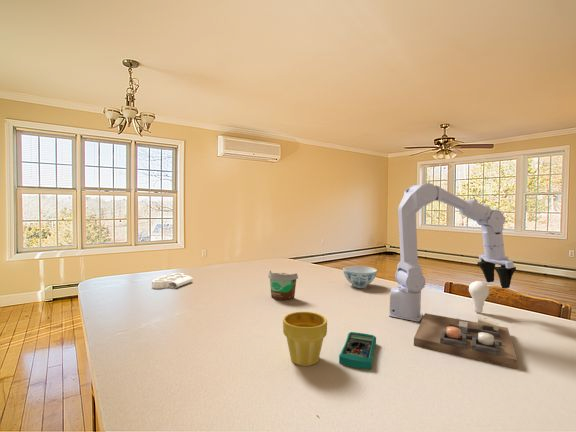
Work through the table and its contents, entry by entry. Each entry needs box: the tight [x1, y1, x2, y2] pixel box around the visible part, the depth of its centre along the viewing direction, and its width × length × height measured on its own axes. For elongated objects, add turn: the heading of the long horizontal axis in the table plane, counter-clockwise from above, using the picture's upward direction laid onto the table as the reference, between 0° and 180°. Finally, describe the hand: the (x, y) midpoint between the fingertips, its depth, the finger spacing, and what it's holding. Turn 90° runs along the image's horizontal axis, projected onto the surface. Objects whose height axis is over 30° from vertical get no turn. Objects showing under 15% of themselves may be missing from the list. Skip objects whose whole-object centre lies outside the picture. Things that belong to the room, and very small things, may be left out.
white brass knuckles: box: [151, 272, 194, 290], centre depth 141 cm, size 3×18×15 cm
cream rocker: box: [476, 315, 500, 331], centre depth 89 cm, size 5×4×1 cm
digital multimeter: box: [338, 331, 377, 370], centre depth 77 cm, size 7×15×3 cm, turn 160°
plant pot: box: [282, 311, 328, 367], centre depth 74 cm, size 10×10×10 cm
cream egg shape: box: [478, 332, 494, 345], centre depth 76 cm, size 3×3×2 cm
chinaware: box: [342, 265, 378, 289], centre depth 142 cm, size 15×15×8 cm
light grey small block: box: [459, 321, 468, 334], centre depth 85 cm, size 2×4×2 cm, turn 149°
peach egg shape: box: [446, 326, 461, 338], centre depth 80 cm, size 3×3×2 cm
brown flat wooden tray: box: [413, 312, 518, 369], centre depth 86 cm, size 22×22×4 cm
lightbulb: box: [468, 280, 490, 314], centre depth 108 cm, size 6×6×11 cm
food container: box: [267, 270, 299, 301], centre depth 121 cm, size 12×6×10 cm, turn 68°
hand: (497, 284), depth 105 cm, fingers open, 7 cm apart
